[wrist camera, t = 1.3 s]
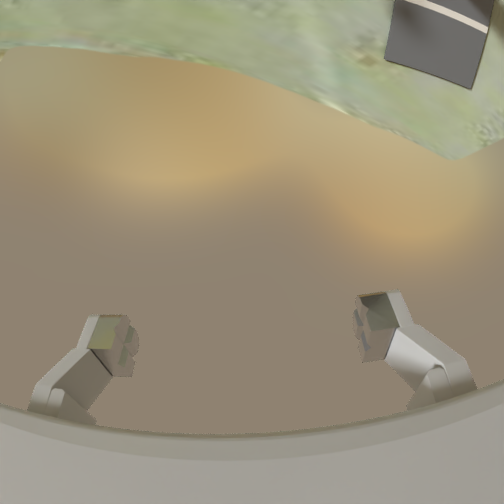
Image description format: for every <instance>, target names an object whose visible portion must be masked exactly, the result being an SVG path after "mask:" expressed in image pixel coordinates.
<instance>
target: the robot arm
mask: <svg viewBox="0 0 504 504" xmlns="http://www.w3.org/2000/svg"><path fill="white" fill-rule="evenodd" d="M355 304H356V307H357V309H356V310H355V311H354V313H353V328H354V333H355V336H356V338H358V339H359V340H360V342H359V346H358V348H359V352H360V356H361V359H362V363H363V362H370V361H377V360H383V359H385V361H386V362H387V363H388V364H389V365H390V366H391V367H392V368H393V369H394V370H395V371H396V372H397V373H398V374H399V375H400V376H401V377H402V378H403V379H404V380H405V382H407V384H408V385H409V386H410V387H411V388H412V389H413V390H414V391H415V394H414V395H413V396H412V398H411V399H410V401H409V402H408V404H407V405H406V407H407V410H408V411H404V412H400V413H396V414H392V415H388V416H383V417H378V418H373V419H368V420H363V421H357V422H351V423H346V424H340V425H333V426H326V427H318V428H310V429H302V430H291V431H280V432H266V433H246V434H184V433H183V434H182V433H164V432H149V431H139V430H129V429H121V428H112V427H105V426H98V425H96V419H95V417H93V416H92V415H90V413H89V412H87V410H88V409H89V408H90V406H91V405H92V404H93V402H94V401H95V400H96V399H97V397H98V396H99V394H100V393H101V392H102V391H103V390H104V388H105V387H106V386H107V385H108V383H109V382H110V380H111V379H112V378H113V377H112V376H118V377H132V374H133V369H134V365H135V361H134V359H133V356H134V355H135V354H136V353H137V352H138V348H139V337H138V334H137V332H136V330H135V328H133V327H132V326H130V325H129V324H130V320H129V318H128V316H127V315H90V316H89V317H88V319H87V321H86V324H85V327H84V329H83V332H82V334H81V337H80V339H79V342H78V345H77V347H76V349H72V350H71V351H70V352H69V353H68V354H67V355H66V356H65V357H64V358H63V359H62V360H60V362H58V364H56V365H55V366H54V367H53V368H52V369H51V370H50V371H49V372H48V373H47V374H46V375H45V376H44V377H43V378H42V379H41V380H40V381H39V382H38V383H37V384H36V386H35V388H34V391H33V394H32V397H31V400H30V403H29V406H28V409H27V411H26V410H22V409H18V408H15V407H11V406H8V405H4V404H1V403H0V504H504V379H503V380H501V381H498V382H496V383H493V384H491V385H488V386H486V387H483V388H480V389H477V387H476V384H475V382H474V379H473V377H472V374H471V372H470V370H469V367H468V365H467V362H466V360H465V359H464V358H463V357H462V356H460V355H459V354H458V353H456V352H455V351H454V350H452V349H451V348H450V347H448V346H447V345H446V344H444V343H443V342H442V341H440V340H439V339H438V338H436V337H435V336H434V335H432V334H431V333H430V332H428V331H427V330H426V329H424V328H423V327H422V326H420V325H419V324H414V322H413V320H412V317H411V315H410V313H409V311H408V308H407V306H406V304H405V301H404V299H403V297H402V295H401V293H400V291H399V290H398V289H397V290H391V291H385V292H377V293H370V294H362V295H357V297H356V301H355Z"/></svg>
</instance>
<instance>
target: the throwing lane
mask: <svg viewBox="0 0 504 504" xmlns="http://www.w3.org/2000/svg"><path fill="white" fill-rule="evenodd" d="M493 3H494V0H395V4H394V10H393V15H392V21H391V26H390V32H389V37H388V42H387V47H386V51H385V56H384V59H385V60H388V61H392V62H395V63H399V64H402V65H406V66H409V67H412V68H415V69H418V70H421V71H424V72H427V73H430V74H433V75H436V76H438V77H441V78H444V79H446V80H449V81H452V82H454V83H457V84H459V85H462V86H464V87H466V88H469V89H471V86H472V83H473V80H474V77H475V73H476V70H477V67H478V64H479V60H480V57H481V53H482V49H483V46H484V42H485V38H486V34H487V31H488V26H489V22H490V17H491V13H492V8H493Z"/></svg>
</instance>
